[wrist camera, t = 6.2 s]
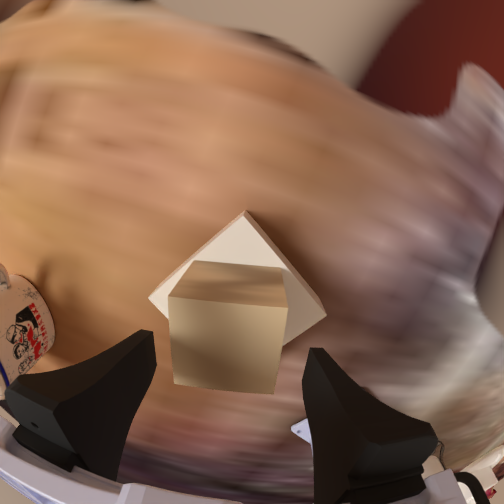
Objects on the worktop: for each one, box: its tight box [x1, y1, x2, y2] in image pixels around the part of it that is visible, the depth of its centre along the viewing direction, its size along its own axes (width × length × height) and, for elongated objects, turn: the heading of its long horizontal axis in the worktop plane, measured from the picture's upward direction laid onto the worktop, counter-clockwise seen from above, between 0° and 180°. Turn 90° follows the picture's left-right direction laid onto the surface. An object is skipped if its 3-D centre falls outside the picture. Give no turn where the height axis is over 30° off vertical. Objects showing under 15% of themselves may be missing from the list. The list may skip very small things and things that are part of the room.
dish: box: [457, 445, 504, 504], centre depth 28 cm, size 25×25×11 cm
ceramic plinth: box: [148, 210, 327, 346], centre depth 18 cm, size 8×8×3 cm
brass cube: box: [168, 260, 288, 394], centre depth 14 cm, size 5×5×5 cm
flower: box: [485, 486, 496, 499], centre depth 36 cm, size 10×9×8 cm
